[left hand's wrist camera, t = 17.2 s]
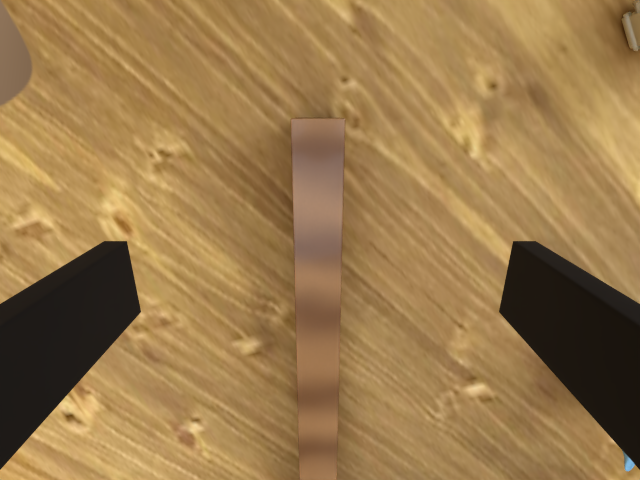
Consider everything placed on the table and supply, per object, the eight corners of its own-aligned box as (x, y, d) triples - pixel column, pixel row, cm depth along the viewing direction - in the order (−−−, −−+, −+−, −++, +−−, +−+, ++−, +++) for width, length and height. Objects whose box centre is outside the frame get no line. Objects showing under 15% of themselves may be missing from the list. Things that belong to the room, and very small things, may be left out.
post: (296, 117, 40) (290, 118, 32) (340, 117, 40) (345, 118, 32) (303, 504, 61) (301, 559, 54) (332, 504, 61) (334, 559, 54)
